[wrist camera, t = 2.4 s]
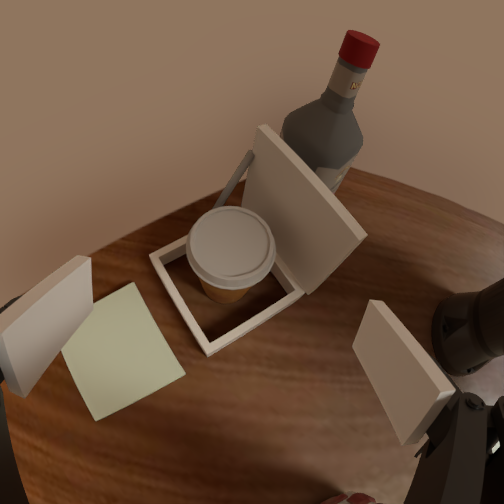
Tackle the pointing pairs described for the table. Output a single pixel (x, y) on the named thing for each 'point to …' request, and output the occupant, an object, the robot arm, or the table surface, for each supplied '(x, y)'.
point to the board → (119, 354)
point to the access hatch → (279, 229)
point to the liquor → (333, 115)
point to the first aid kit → (351, 499)
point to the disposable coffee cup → (230, 252)
